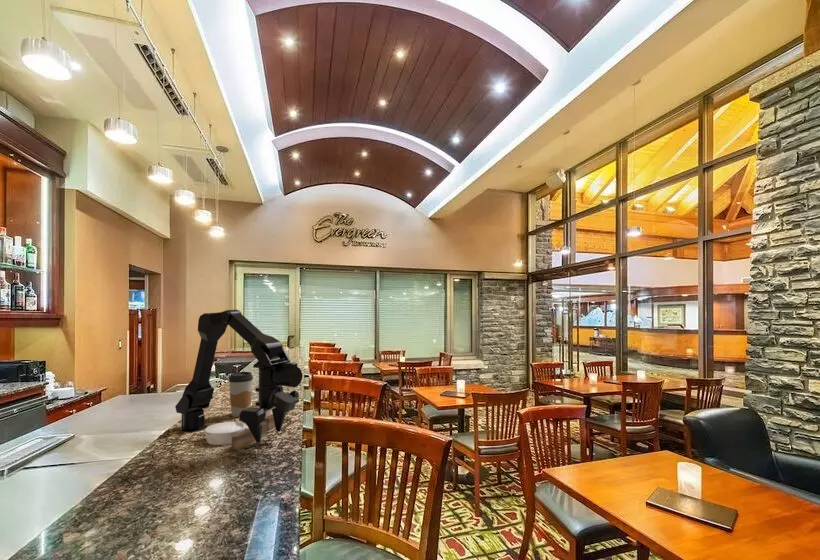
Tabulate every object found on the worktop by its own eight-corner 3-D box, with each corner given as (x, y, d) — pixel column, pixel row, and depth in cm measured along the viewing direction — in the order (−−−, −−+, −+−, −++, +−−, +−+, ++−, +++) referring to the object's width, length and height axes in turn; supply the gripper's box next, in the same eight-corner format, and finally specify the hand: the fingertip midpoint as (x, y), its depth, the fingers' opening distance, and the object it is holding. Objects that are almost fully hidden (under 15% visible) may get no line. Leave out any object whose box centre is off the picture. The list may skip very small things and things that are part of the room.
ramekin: (251, 443, 126) (252, 426, 126) (215, 454, 117) (215, 436, 117) (233, 435, 133) (234, 419, 133) (198, 445, 124) (198, 427, 124)
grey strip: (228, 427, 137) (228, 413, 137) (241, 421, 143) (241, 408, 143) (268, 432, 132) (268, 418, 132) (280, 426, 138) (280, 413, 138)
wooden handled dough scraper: (192, 446, 121) (192, 431, 121) (225, 431, 133) (225, 417, 133) (237, 452, 116) (237, 437, 116) (266, 436, 128) (266, 422, 128)
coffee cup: (247, 409, 157) (247, 370, 157) (256, 414, 151) (256, 373, 151) (224, 414, 151) (225, 373, 151) (233, 419, 145) (234, 377, 146)
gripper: (272, 393, 109) (272, 452, 109) (310, 378, 127) (310, 429, 127) (237, 390, 113) (237, 447, 112) (279, 376, 130) (279, 425, 130)
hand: (268, 436), depth 120 cm, fingers open, 9 cm apart
